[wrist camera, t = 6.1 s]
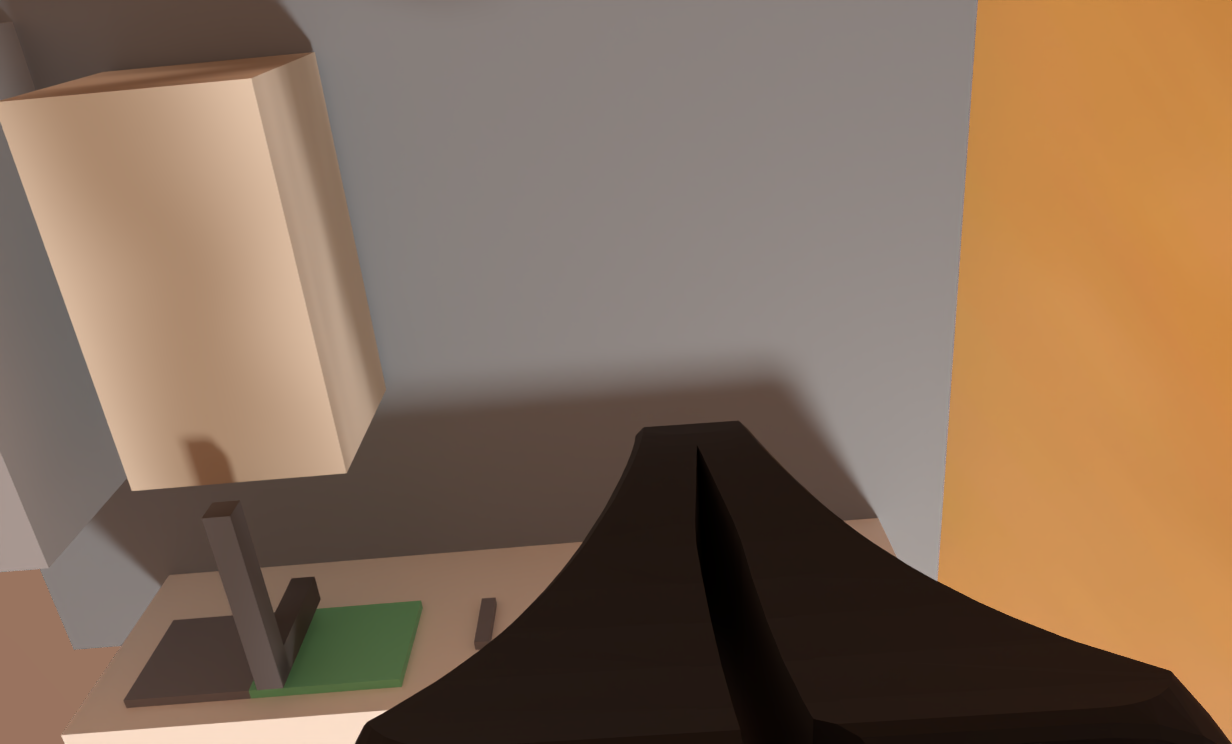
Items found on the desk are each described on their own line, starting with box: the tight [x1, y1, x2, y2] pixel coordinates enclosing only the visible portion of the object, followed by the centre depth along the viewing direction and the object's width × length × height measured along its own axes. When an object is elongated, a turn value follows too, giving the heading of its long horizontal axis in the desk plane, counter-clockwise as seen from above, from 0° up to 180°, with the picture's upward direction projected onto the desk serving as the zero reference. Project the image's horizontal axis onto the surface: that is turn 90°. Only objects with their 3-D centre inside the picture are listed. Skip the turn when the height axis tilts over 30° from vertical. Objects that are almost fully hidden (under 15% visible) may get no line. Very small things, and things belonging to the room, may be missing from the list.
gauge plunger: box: [0, 52, 386, 690], centre depth 18 cm, size 4×11×5 cm, turn 5°
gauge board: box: [0, 0, 978, 744], centre depth 17 cm, size 22×20×6 cm
